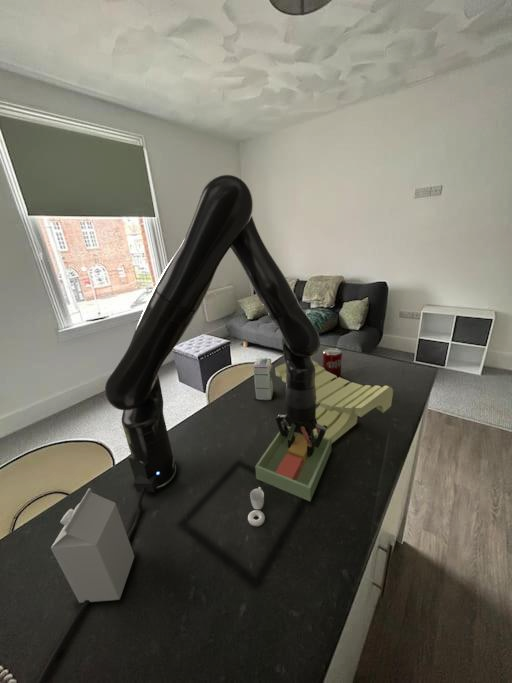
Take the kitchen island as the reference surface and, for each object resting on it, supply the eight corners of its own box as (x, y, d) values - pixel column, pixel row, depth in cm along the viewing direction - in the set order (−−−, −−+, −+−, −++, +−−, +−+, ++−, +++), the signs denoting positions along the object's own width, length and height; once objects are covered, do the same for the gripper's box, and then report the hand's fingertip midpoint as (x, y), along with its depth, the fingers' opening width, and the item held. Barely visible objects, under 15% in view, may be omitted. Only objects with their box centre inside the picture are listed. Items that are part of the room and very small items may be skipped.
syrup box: (271, 400, 102) (269, 365, 97) (255, 399, 103) (252, 364, 98) (273, 392, 107) (271, 358, 102) (258, 391, 108) (256, 357, 103)
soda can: (319, 375, 117) (319, 349, 112) (334, 372, 119) (335, 346, 114) (328, 383, 110) (329, 356, 106) (344, 380, 112) (345, 353, 108)
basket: (310, 503, 63) (310, 488, 62) (256, 479, 70) (255, 466, 68) (331, 452, 77) (331, 439, 75) (284, 437, 84) (283, 425, 82)
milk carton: (135, 556, 55) (110, 486, 48) (119, 600, 48) (88, 527, 41) (99, 559, 55) (69, 489, 48) (79, 604, 48) (40, 530, 41)
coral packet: (292, 489, 66) (291, 479, 65) (275, 482, 68) (275, 472, 67) (302, 468, 72) (302, 458, 71) (286, 462, 74) (286, 453, 73)
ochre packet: (303, 465, 73) (303, 456, 71) (288, 459, 75) (288, 450, 74) (312, 447, 78) (312, 438, 77) (298, 443, 80) (297, 434, 79)
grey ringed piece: (261, 534, 58) (259, 521, 56) (231, 515, 62) (229, 502, 61) (282, 502, 64) (281, 489, 63) (254, 486, 69) (253, 474, 67)
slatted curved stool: (387, 435, 82) (394, 382, 75) (356, 464, 72) (362, 407, 66) (308, 395, 103) (308, 352, 97) (277, 414, 94) (275, 367, 88)
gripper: (268, 400, 70) (271, 452, 77) (324, 414, 63) (322, 470, 70) (281, 385, 76) (282, 435, 83) (333, 397, 69) (330, 451, 76)
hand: (300, 451), depth 76 cm, fingers closed on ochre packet, 4 cm apart
